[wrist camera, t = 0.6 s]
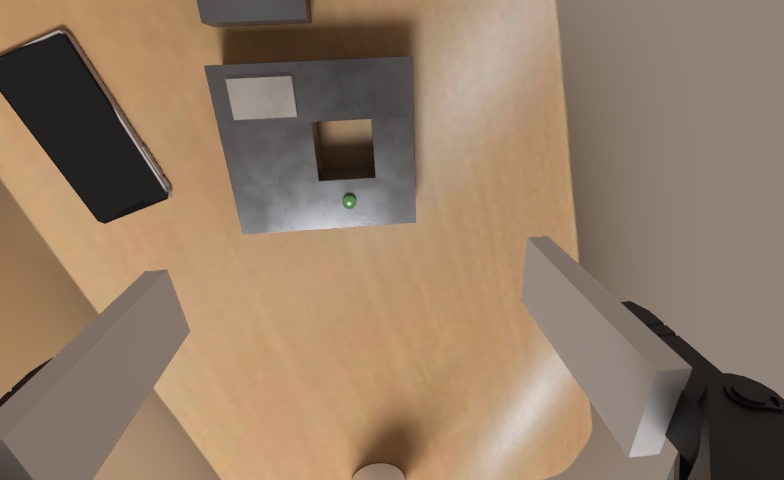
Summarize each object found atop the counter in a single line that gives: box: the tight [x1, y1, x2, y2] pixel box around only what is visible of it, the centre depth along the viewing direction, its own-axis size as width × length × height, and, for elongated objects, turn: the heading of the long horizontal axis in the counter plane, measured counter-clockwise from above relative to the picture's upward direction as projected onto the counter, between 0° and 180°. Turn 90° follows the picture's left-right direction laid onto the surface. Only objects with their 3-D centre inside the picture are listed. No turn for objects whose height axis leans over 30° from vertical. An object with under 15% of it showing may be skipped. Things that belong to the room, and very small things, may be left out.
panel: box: [204, 56, 416, 234], centre depth 33 cm, size 14×16×4 cm
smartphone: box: [0, 30, 173, 224], centre depth 33 cm, size 8×1×15 cm
